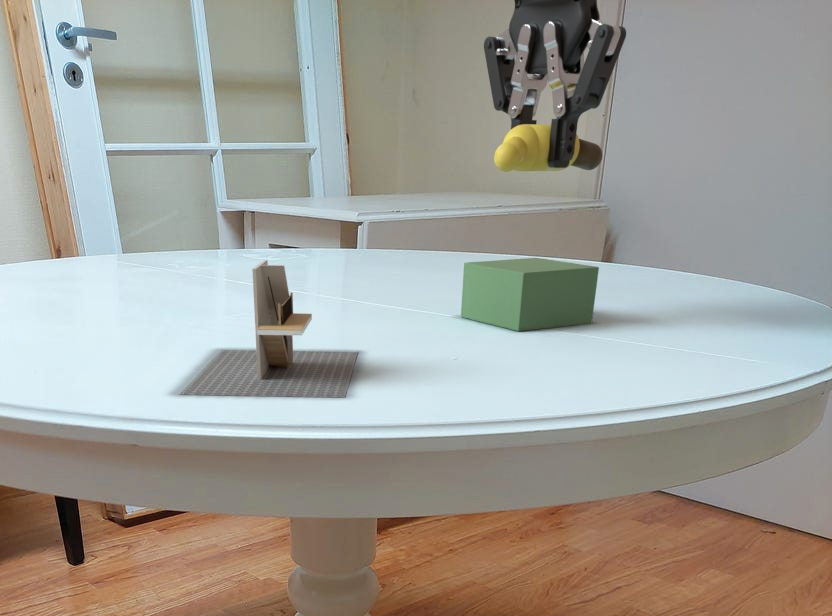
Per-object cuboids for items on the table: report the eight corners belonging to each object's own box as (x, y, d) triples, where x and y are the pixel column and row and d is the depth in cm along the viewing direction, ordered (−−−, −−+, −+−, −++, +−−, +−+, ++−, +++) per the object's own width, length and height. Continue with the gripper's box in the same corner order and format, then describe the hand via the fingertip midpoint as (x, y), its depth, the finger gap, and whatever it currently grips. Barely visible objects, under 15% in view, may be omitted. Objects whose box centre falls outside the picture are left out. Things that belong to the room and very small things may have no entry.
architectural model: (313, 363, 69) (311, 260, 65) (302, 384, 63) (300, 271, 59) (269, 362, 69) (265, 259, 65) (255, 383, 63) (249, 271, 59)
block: (531, 309, 92) (536, 257, 89) (592, 323, 85) (599, 266, 82) (460, 317, 88) (463, 262, 85) (518, 331, 81) (523, 272, 78)
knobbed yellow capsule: (566, 155, 84) (586, 117, 82) (594, 182, 83) (615, 144, 80) (467, 155, 77) (486, 114, 74) (496, 185, 76) (516, 143, 73)
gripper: (666, -84, 68) (631, 168, 77) (525, -57, 78) (507, 165, 86) (607, -99, 64) (576, 169, 73) (465, -69, 74) (453, 166, 82)
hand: (539, 166), depth 79 cm, fingers closed on knobbed yellow capsule, 3 cm apart
